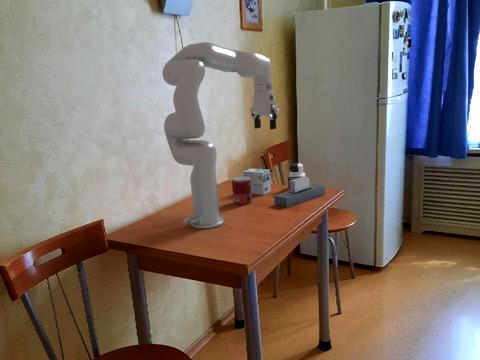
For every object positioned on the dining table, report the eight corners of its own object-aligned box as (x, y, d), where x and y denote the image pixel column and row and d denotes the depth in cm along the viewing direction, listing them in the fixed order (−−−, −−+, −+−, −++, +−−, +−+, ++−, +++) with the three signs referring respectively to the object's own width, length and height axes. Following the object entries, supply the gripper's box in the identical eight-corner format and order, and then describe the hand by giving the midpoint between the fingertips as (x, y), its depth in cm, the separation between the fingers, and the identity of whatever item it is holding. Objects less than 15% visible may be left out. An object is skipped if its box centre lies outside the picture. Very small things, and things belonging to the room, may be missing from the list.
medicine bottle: (288, 191, 202) (287, 165, 199) (291, 187, 209) (289, 162, 206) (303, 191, 200) (302, 165, 197) (306, 187, 207) (305, 162, 204)
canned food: (252, 204, 185) (250, 179, 183) (233, 206, 185) (231, 180, 183) (252, 199, 193) (250, 175, 190) (233, 200, 193) (231, 176, 190)
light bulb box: (271, 191, 203) (269, 169, 201) (264, 195, 198) (262, 172, 195) (251, 190, 209) (249, 168, 207) (244, 193, 204) (242, 171, 201)
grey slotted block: (286, 207, 177) (286, 198, 176) (274, 204, 182) (274, 195, 182) (325, 194, 192) (324, 185, 191) (312, 192, 197) (312, 183, 196)
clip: (304, 194, 191) (303, 176, 189) (309, 195, 189) (309, 177, 187) (290, 199, 185) (289, 180, 183) (295, 200, 183) (294, 181, 181)
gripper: (283, 87, 181) (285, 128, 185) (255, 88, 194) (258, 126, 198) (270, 88, 176) (273, 130, 180) (243, 89, 189) (245, 129, 193)
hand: (265, 128), depth 189 cm, fingers open, 9 cm apart
